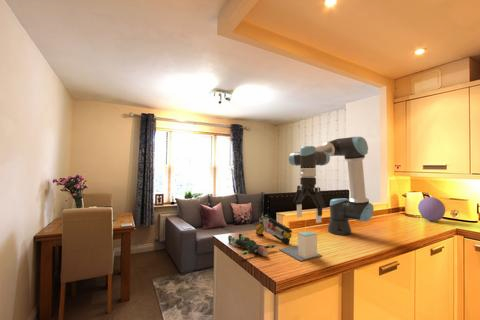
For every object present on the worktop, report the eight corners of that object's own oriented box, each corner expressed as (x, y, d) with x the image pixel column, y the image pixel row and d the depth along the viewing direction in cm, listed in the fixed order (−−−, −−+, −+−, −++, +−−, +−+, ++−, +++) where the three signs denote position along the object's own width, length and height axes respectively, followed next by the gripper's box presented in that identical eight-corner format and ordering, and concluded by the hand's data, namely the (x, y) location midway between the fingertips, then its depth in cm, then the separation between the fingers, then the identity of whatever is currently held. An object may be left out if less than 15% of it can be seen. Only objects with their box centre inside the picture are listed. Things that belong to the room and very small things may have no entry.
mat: (299, 246, 130) (299, 245, 130) (322, 256, 115) (322, 255, 115) (279, 250, 124) (279, 248, 124) (300, 261, 108) (300, 260, 108)
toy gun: (258, 231, 155) (262, 210, 152) (288, 252, 135) (293, 228, 133) (253, 232, 152) (257, 211, 149) (283, 253, 132) (289, 230, 130)
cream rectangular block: (310, 252, 118) (309, 231, 119) (317, 255, 114) (316, 233, 114) (298, 255, 115) (297, 233, 115) (305, 258, 110) (304, 235, 111)
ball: (445, 225, 176) (444, 199, 177) (417, 221, 188) (416, 197, 188) (445, 221, 189) (445, 197, 189) (419, 218, 200) (419, 195, 201)
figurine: (215, 246, 131) (245, 267, 106) (216, 235, 131) (245, 253, 106) (251, 238, 145) (285, 255, 120) (251, 229, 145) (285, 243, 120)
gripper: (286, 176, 124) (286, 215, 123) (321, 178, 101) (321, 226, 101) (297, 176, 127) (297, 214, 126) (333, 177, 105) (334, 224, 104)
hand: (308, 219), depth 114 cm, fingers open, 13 cm apart
